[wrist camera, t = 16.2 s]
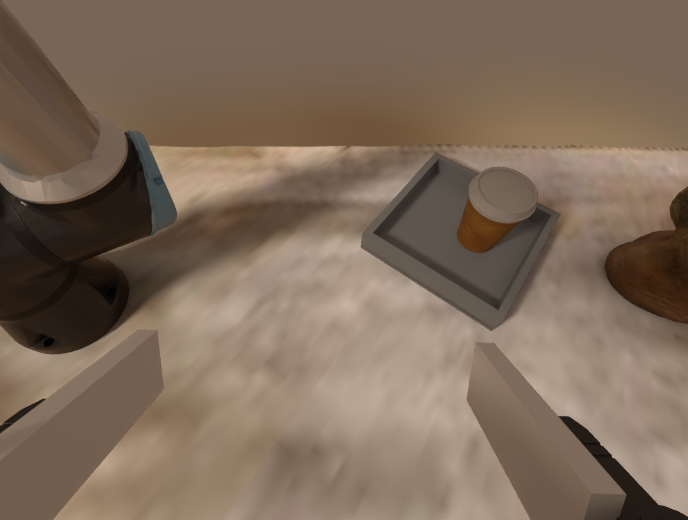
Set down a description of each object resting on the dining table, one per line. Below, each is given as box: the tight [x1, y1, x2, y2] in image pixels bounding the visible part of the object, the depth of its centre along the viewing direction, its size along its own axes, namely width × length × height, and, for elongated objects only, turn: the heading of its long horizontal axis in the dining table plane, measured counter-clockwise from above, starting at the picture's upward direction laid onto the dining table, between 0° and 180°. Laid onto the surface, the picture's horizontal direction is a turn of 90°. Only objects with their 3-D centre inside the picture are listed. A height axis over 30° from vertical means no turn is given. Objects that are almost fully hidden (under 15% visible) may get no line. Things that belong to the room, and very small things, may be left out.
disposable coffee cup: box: [457, 167, 538, 253], centre depth 51 cm, size 10×10×12 cm
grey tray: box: [361, 153, 561, 331], centre depth 56 cm, size 24×24×4 cm
